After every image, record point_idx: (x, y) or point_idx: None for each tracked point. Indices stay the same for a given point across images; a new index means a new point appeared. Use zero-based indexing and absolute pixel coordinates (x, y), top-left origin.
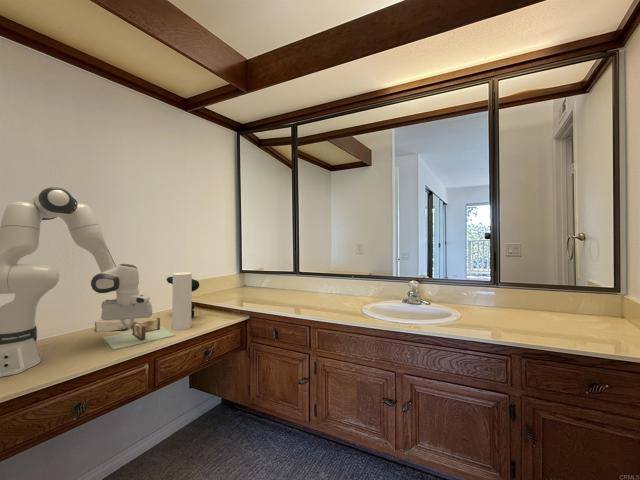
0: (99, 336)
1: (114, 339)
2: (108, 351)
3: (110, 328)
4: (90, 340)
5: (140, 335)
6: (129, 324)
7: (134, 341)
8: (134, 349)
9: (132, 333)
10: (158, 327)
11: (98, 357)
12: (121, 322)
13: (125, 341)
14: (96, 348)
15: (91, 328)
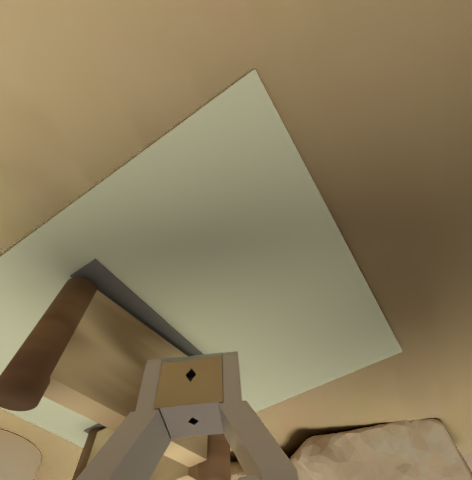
0: (421, 372)
1: (319, 310)
2: (296, 35)
3: (382, 444)
4: (469, 323)
5: (112, 322)
6: (148, 416)
7: (141, 253)
8: (23, 42)
9: None
10: (88, 443)
11: None
12: (277, 455)
13: (219, 262)
14: (421, 157)
15: (465, 453)
